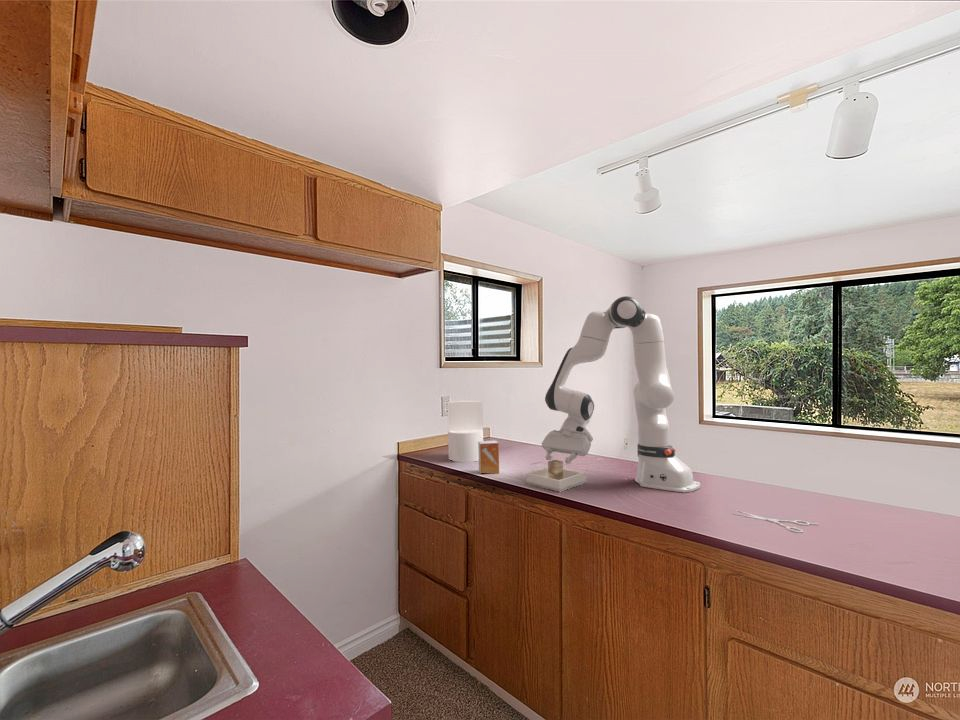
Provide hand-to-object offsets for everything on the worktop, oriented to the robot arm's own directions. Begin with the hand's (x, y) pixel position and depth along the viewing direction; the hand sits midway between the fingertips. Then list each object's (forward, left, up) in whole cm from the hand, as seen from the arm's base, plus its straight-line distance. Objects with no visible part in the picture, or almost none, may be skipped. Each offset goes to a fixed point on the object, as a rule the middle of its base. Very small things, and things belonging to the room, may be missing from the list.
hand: (557, 461), depth 168 cm
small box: (+32, +6, -9) cm, 34 cm away
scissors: (-68, -10, -9) cm, 69 cm away
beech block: (0, +1, -8) cm, 8 cm away
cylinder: (+60, -5, -9) cm, 61 cm away
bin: (0, +1, -9) cm, 9 cm away
